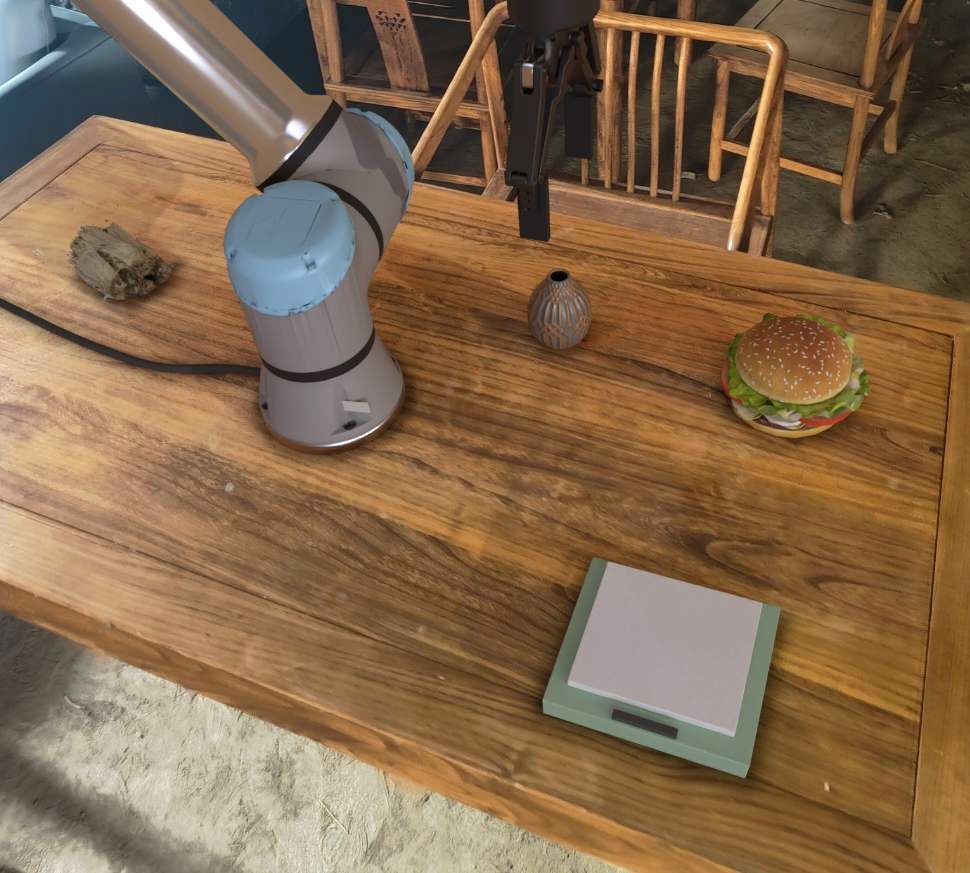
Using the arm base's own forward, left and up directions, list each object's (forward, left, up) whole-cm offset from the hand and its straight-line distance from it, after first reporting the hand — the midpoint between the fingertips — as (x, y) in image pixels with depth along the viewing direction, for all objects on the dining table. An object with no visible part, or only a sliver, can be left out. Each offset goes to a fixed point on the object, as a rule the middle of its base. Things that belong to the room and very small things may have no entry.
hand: (558, 195), depth 88 cm
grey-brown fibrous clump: (-55, -5, -19) cm, 58 cm away
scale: (+20, -35, -19) cm, 44 cm away
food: (+25, -2, -19) cm, 31 cm away
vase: (0, 0, -19) cm, 19 cm away
